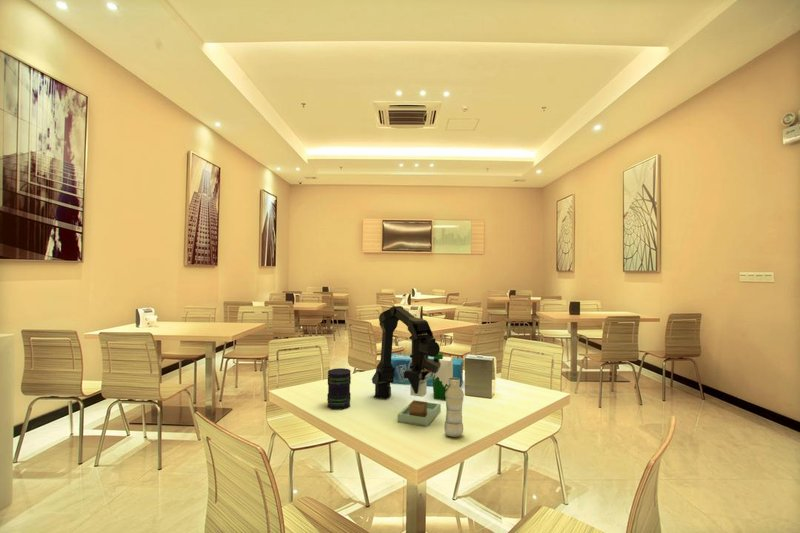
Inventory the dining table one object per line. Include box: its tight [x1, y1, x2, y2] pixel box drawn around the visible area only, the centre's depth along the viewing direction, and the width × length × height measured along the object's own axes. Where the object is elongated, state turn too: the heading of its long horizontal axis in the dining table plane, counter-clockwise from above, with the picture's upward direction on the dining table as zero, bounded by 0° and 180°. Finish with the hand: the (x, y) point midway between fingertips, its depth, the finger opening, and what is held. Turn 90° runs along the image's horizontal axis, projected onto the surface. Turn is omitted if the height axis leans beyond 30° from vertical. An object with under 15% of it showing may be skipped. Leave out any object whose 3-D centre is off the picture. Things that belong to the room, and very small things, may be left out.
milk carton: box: [432, 352, 453, 401], centre depth 181 cm, size 9×9×20 cm
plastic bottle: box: [443, 378, 465, 438], centre depth 138 cm, size 6×7×20 cm
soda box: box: [391, 353, 464, 388], centre depth 206 cm, size 40×14×13 cm, turn 76°
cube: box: [409, 380, 428, 398], centre depth 155 cm, size 5×5×5 cm
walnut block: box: [409, 399, 428, 417], centre depth 155 cm, size 6×6×5 cm
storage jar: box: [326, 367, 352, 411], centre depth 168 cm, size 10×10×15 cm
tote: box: [397, 399, 442, 428], centre depth 157 cm, size 12×18×3 cm, turn 158°
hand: (418, 391), depth 155 cm, fingers closed on cube, 5 cm apart
